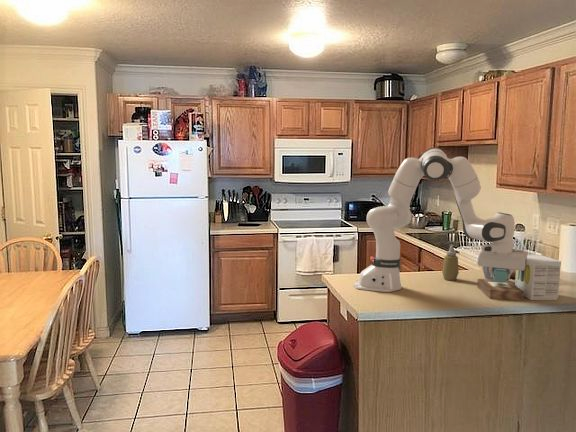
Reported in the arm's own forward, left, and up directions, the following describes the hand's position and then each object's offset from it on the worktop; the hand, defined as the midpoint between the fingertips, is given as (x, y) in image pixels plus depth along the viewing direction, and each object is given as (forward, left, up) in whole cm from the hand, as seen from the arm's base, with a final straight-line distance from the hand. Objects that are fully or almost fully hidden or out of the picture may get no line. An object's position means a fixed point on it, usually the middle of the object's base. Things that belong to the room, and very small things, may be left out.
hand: (500, 277), depth 217 cm
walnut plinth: (0, 0, -7) cm, 7 cm away
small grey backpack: (+5, +22, -8) cm, 24 cm away
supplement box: (+16, -1, -8) cm, 17 cm away
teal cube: (0, 0, -2) cm, 2 cm away
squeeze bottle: (-17, +23, -8) cm, 30 cm away
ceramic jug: (+18, +36, -8) cm, 41 cm away
